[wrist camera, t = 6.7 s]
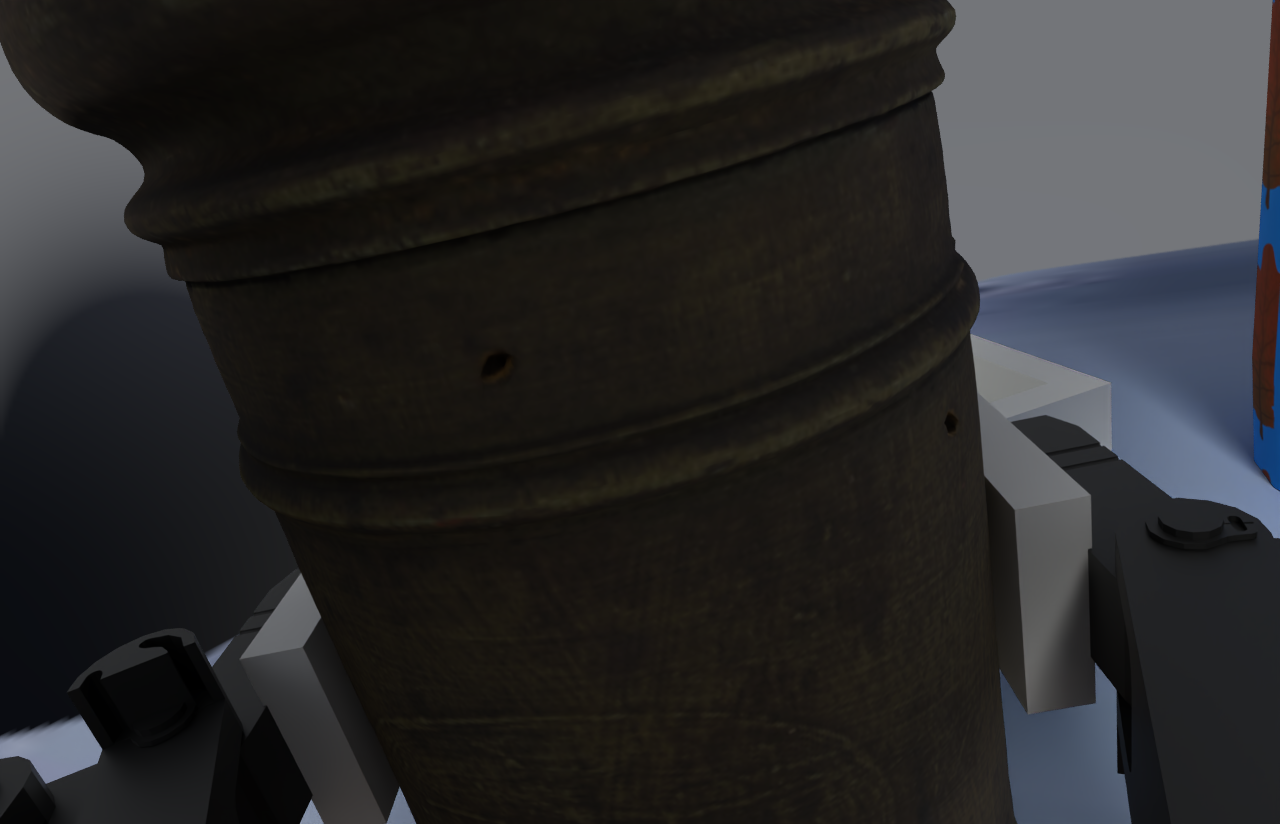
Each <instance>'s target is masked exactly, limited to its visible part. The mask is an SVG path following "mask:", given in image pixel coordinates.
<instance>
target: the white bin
mask: <svg viewBox="0 0 1280 824" xmlns="http://www.w3.org/2000/svg"><path fill="white" fill-rule="evenodd" d="M970 336H971V343H972V350H973V358H974V366H975V375H976V385H977V392H978V393H979V394H980V395H981V396H982V397H983V398H984V399H985V400H987V401H988V402H989V403H990V404H991V405H992V406H993V407H994V408H995V409H996V410H998V411H999V412H1000V413H1001V414H1002V415H1003V416H1004V417H1005V418H1006V419H1007V420H1009V421H1010V422H1013V421H1017V420H1022V419H1027V418H1032V417H1037V416H1042V415H1048V416H1051V417H1054V418H1057V419H1060V420H1063V421H1066V422H1069V423H1072V424H1075V425H1077V426H1079V427H1081V428H1082V429H1083V430H1085V431H1086V432H1087V433H1089V434H1090V435H1091V436H1092V437H1094V438H1095V439H1096V440H1098V441H1099V442H1100V445H1101V446H1105V447H1107V448H1108V449H1109V450H1110V451H1112V410H1111V383H1110V382H1108V381H1105V380H1102V379H1099V378H1096V377H1093V376H1090V375H1087V374H1085V373H1082V372H1079V371H1076V370H1073V369H1070V368H1067V367H1064V366H1061V365H1059V364H1056V363H1053V362H1050V361H1047V360H1044V359H1041V358H1038V357H1035V356H1033V355H1030V354H1027V353H1024V352H1021V351H1018V350H1015V349H1012V348H1010V347H1007V346H1004V345H1001V344H998V343H995V342H992V341H989V340H986V339H984V338H981V337H978V336H975V335H972V334H970Z"/></svg>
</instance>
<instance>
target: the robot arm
mask: <svg viewBox="0 0 1280 824" xmlns="http://www.w3.org/2000/svg"><path fill="white" fill-rule="evenodd" d="M977 396H978V406H979V416H980V429H981V441H982V455H983V467H984V480H985V491H986V504H987V515H988V529H989V543H990V557H991V571H992V583H993V597H994V610H995V625H996V636H997V645H998V658H999V668H1000V670H1001V671H1002V673H1003V675H1004V676H1005V678H1006V680H1007V681H1008V683H1009V685H1010V686H1011V688H1012V689H1013V691H1014V693H1015V694H1016V696H1017V698H1018V699H1019V701H1020V702H1021V704H1022V706H1023V707H1024V709H1025V711H1026V712H1027V714H1034V713H1040V712H1046V711H1052V710H1058V709H1063V708H1069V707H1075V706H1081V705H1087V704H1093V703H1096V693H1095V663H1096V664H1097V665H1098V667H1099V668H1100V669H1101V670H1102V672H1103V673H1104V674H1105V676H1106V677H1107V678H1108V679H1109V681H1110V682H1111V683H1112V684H1113V686H1114V687H1115V688H1116V690H1117V768H1118V773H1119V774H1125V780H1126V787H1127V794H1128V801H1129V808H1130V815H1131V822H1132V824H1280V539H1279V538H1273V536H1272V534H1271V532H1270V531H1269V530H1268V529H1267V528H1266V527H1265V526H1264V525H1263V524H1262V523H1261V521H1260V520H1259V519H1257V518H1255V517H1253V516H1251V515H1249V514H1247V513H1245V512H1243V511H1241V510H1239V509H1237V508H1235V507H1231V506H1227V505H1223V504H1220V503H1216V502H1212V501H1208V500H1196V499H1184V498H1174V499H1172V498H1171V497H1170V496H1169V495H1167V494H1166V493H1165V492H1163V491H1162V490H1161V489H1160V488H1158V487H1157V486H1156V485H1154V484H1153V483H1152V482H1151V481H1149V480H1148V479H1147V478H1145V477H1144V476H1143V475H1141V474H1140V473H1139V472H1138V471H1136V470H1135V469H1134V468H1132V467H1131V466H1130V465H1129V464H1127V463H1126V462H1125V461H1123V460H1119V459H1118V456H1117V455H1116V454H1114V453H1113V452H1112V451H1110V450H1109V449H1108V448H1107V447H1105V446H1101V445H1100V442H1099V441H1098V440H1096V439H1095V438H1094V437H1092V436H1091V435H1090V434H1089V433H1087V432H1086V431H1085V430H1083V429H1082V428H1081V427H1079V426H1077V425H1075V424H1072V423H1069V422H1066V421H1063V420H1060V419H1057V418H1054V417H1051V416H1048V415H1042V416H1037V417H1032V418H1027V419H1022V420H1017V421H1013V422H1010V421H1009V420H1007V419H1006V418H1005V417H1004V416H1003V415H1002V414H1001V413H1000V412H999V411H998V410H996V409H995V408H994V407H993V406H992V405H991V404H990V403H989V402H988V401H987V400H985V399H984V398H983V397H982V396H981V395H980V394H979V393H978V392H977ZM239 632H240V635H238V636H235V637H234V639H233V640H232V641H231V643H230V644H229V645H228V647H227V648H226V649H225V651H224V652H223V653H222V655H221V656H220V657H219V659H218V660H217V661H216V663H215V664H214V665H213V667H211V665H210V663H209V661H208V659H207V657H206V655H205V654H204V652H203V650H202V648H201V646H200V644H199V643H198V640H197V639H196V637H195V635H194V633H193V632H191V631H188V630H186V629H184V628H178V629H166V630H162V631H159V632H155V633H152V634H149V635H146V636H142V637H140V638H138V639H136V640H134V641H132V642H129V643H128V644H125V645H123V646H121V647H119V648H117V649H116V650H114V651H113V652H111V653H109V654H108V655H106V656H105V657H103V658H101V659H100V660H98V661H97V662H95V663H94V664H93V665H92V666H91V667H90V668H88V669H87V670H86V671H85V672H84V673H83V674H81V675H80V676H79V677H78V678H77V679H76V681H75V682H74V683H73V685H72V686H71V687H70V689H69V690H68V692H67V694H68V695H69V697H70V698H71V700H72V702H73V703H74V705H75V706H76V708H77V710H78V711H79V713H80V714H81V716H82V718H83V719H84V721H85V722H86V724H87V726H88V727H89V729H90V730H91V732H92V734H93V735H94V737H95V738H96V740H97V742H98V743H99V745H100V746H101V748H102V752H101V755H100V758H99V761H98V764H95V765H93V766H90V767H88V768H85V769H83V770H80V771H78V772H75V773H73V774H70V775H67V776H65V777H62V778H60V779H57V780H55V781H52V782H50V783H47V784H45V782H44V781H43V779H42V778H41V776H40V775H39V773H38V772H37V770H36V769H35V767H34V766H33V764H32V763H31V761H30V760H28V759H25V758H22V757H19V756H16V757H10V758H4V759H0V824H300V822H301V820H302V817H303V815H304V813H305V811H306V809H307V807H308V805H309V803H310V800H311V799H312V801H313V803H314V805H315V807H316V809H317V811H318V813H319V815H320V817H321V819H322V821H323V822H324V824H385V823H387V821H388V818H389V815H390V812H391V809H392V807H393V804H394V801H395V798H396V795H397V792H398V790H399V787H400V786H399V784H398V782H397V780H396V778H395V775H394V773H393V771H392V769H391V767H390V765H389V762H388V760H387V758H386V755H385V753H384V751H383V749H382V747H381V745H380V743H379V741H378V738H377V736H376V734H375V732H374V730H373V728H372V726H371V724H370V722H369V720H368V718H367V716H366V714H365V712H364V710H363V708H362V705H361V703H360V701H359V698H358V696H357V694H356V692H355V690H354V688H353V685H352V683H351V681H350V679H349V677H348V675H347V673H346V671H345V669H344V666H343V664H342V662H341V660H340V657H339V655H338V653H337V651H336V649H335V646H334V644H333V642H332V640H331V638H330V636H329V634H328V631H327V629H326V627H325V624H324V622H323V620H322V618H321V616H320V614H319V611H318V609H317V607H316V605H315V603H314V601H313V598H312V596H311V594H310V592H309V589H308V587H307V585H306V583H305V581H304V579H303V576H302V574H301V572H300V570H299V569H296V570H295V571H293V572H292V573H291V574H290V575H288V576H287V577H286V578H285V579H283V580H282V581H281V582H280V583H279V584H277V585H276V586H275V587H274V588H272V589H271V590H270V591H269V592H268V594H267V595H266V596H265V598H264V599H263V600H262V602H261V603H260V604H259V606H258V607H257V608H256V609H255V611H254V612H253V617H249V619H248V620H247V622H246V623H245V624H244V626H243V627H242V628H241V629H240V631H239Z"/></svg>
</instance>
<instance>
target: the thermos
mask: <svg viewBox="0 0 1280 824" xmlns="http://www.w3.org/2000/svg"><path fill="white" fill-rule="evenodd" d="M1261 197H1262V198H1261V215H1260V231H1259V232H1260V233H1259V248H1258V266H1257V283H1256V300H1255V318H1254V335H1253V353H1252V368H1253V425H1254V461H1255V462H1256V464H1257V465H1258V466H1259V468H1260V469H1261V470H1262V472H1263V473H1264V475H1265V476H1266V477H1267V479H1268V480H1269V481H1270V483H1271V484H1272V485H1273V487H1275V488H1276V489H1278V490H1280V0H1273V5H1272V23H1271V39H1270V57H1269V74H1268V92H1267V109H1266V127H1265V144H1264V161H1263V179H1262V196H1261Z"/></svg>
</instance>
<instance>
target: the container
mask: <svg viewBox="0 0 1280 824" xmlns="http://www.w3.org/2000/svg"><path fill="white" fill-rule="evenodd" d="M955 20H956V14H955V9H954V8H953V7H952V6H951V4H950V3H949V2H948V1H947V0H0V42H1V45H2V48H3V51H4V53H5V56H6V58H7V60H8V62H9V65H10V67H11V69H12V71H13V73H14V74H15V76H16V77H17V79H18V81H19V82H20V84H21V85H22V86H23V88H24V89H25V90H26V92H27V93H28V94H29V95H30V96H31V97H32V98H33V99H34V100H35V101H36V102H37V103H38V104H39V105H40V106H41V107H42V108H44V109H45V110H46V111H48V112H49V113H50V114H52V115H53V116H55V117H56V118H58V119H59V120H61V121H63V122H64V123H66V124H68V125H70V126H73V127H75V128H78V129H80V130H83V131H86V132H89V133H92V134H96V135H100V136H104V137H107V138H110V139H112V140H115V141H116V142H118V143H119V144H121V145H122V146H123V147H125V148H126V149H127V150H129V151H130V152H131V153H132V154H133V155H134V156H135V157H136V158H137V159H138V161H139V162H140V163H141V165H142V166H143V169H144V173H145V176H144V182H143V184H142V185H141V187H140V188H139V190H138V191H137V192H136V193H135V195H134V196H133V198H132V199H131V200H130V202H129V203H128V204H127V206H126V208H125V212H124V222H125V224H126V226H127V228H128V229H129V230H130V231H131V233H133V234H134V235H136V236H137V237H140V238H142V239H144V240H147V241H150V242H154V243H157V244H159V245H162V247H163V249H164V258H165V264H166V270H167V273H168V275H169V276H170V277H171V278H172V279H175V280H178V281H182V280H183V281H185V282H186V286H187V290H188V292H189V295H190V298H191V301H192V304H193V308H194V311H195V314H196V315H197V317H198V320H199V323H200V325H201V328H202V331H203V333H204V335H205V337H206V339H207V341H208V344H209V346H210V349H211V351H212V354H213V357H214V360H215V362H216V364H217V366H218V369H219V371H220V373H221V376H222V378H223V380H224V383H225V385H226V388H227V390H228V392H229V394H230V396H231V398H232V400H233V403H234V405H235V408H236V410H237V413H238V415H239V417H240V420H239V424H238V431H237V433H238V438H239V440H240V442H241V446H240V452H239V463H240V465H239V466H240V475H241V478H242V480H243V481H244V483H245V484H246V487H247V488H248V489H249V490H250V492H251V493H252V494H253V495H254V496H255V497H256V498H257V499H258V500H259V501H260V502H262V503H263V504H265V505H266V506H268V507H269V508H271V509H272V510H274V511H275V513H276V515H277V517H278V519H279V522H280V524H281V526H282V529H283V531H284V533H285V535H286V538H287V540H288V543H289V545H290V547H291V550H292V552H293V555H294V557H295V559H296V562H297V564H298V567H299V570H300V572H301V574H302V576H303V579H304V581H305V583H306V585H307V587H308V589H309V592H310V594H311V596H312V598H313V601H314V603H315V605H316V607H317V609H318V611H319V614H320V616H321V618H322V620H323V622H324V624H325V627H326V629H327V631H328V634H329V636H330V638H331V640H332V642H333V644H334V646H335V649H336V651H337V653H338V655H339V657H340V660H341V662H342V664H343V666H344V669H345V671H346V673H347V675H348V677H349V679H350V681H351V683H352V685H353V688H354V690H355V692H356V694H357V696H358V698H359V701H360V703H361V705H362V708H363V710H364V712H365V714H366V716H367V718H368V720H369V722H370V724H371V726H372V728H373V730H374V732H375V734H376V736H377V738H378V741H379V743H380V745H381V747H382V749H383V751H384V753H385V755H386V758H387V760H388V762H389V765H390V767H391V769H392V771H393V773H394V775H395V778H396V780H397V782H398V784H399V786H400V788H401V790H402V792H403V795H404V797H405V799H406V801H407V804H408V806H409V808H410V811H411V813H412V815H413V817H414V819H415V822H416V824H1017V822H1016V819H1015V817H1014V811H1013V802H1012V795H1011V788H1010V782H1009V774H1008V763H1007V749H1006V738H1005V728H1004V719H1003V708H1002V698H1001V687H1000V672H999V658H998V645H997V636H996V625H995V610H994V597H993V583H992V571H991V557H990V543H989V529H988V515H987V504H986V491H985V480H984V467H983V455H982V441H981V429H980V416H979V406H978V396H977V385H976V375H975V366H974V358H973V350H972V343H971V336H970V329H971V327H972V326H973V324H974V322H975V320H976V318H977V315H978V312H979V308H980V294H979V287H978V282H977V280H976V276H975V274H974V272H973V271H972V269H971V267H970V266H969V265H968V263H967V262H966V261H965V260H964V258H963V257H962V256H961V255H960V254H958V253H957V252H956V250H955V240H954V238H953V237H952V234H951V224H950V218H949V208H948V207H949V205H948V193H947V184H946V176H945V169H944V161H943V150H942V144H941V138H940V131H939V125H938V119H937V112H936V106H935V100H934V96H933V93H932V92H931V91H932V90H934V89H935V88H937V87H938V86H939V85H941V84H942V82H943V81H944V78H945V73H944V70H943V68H942V66H941V64H940V62H939V60H938V57H937V54H936V48H937V46H938V45H939V43H940V42H941V41H942V40H943V39H944V38H945V37H946V36H947V35H948V34H949V33H950V31H951V30H952V28H953V27H954V25H955Z"/></svg>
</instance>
